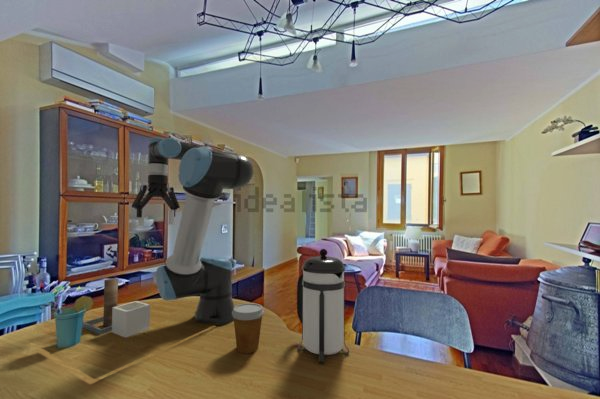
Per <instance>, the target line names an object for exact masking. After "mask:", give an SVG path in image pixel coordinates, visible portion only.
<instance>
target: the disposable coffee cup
mask: <svg viewBox="0 0 600 399" xmlns="http://www.w3.org/2000/svg"><path fill="white" fill-rule="evenodd" d="M264 313H265V311H264V309H263V306H262V304H259V303H254V302H248V303H240V304H237V305H234V309H233V312H232V315H233V317H234V320H233V323H234V324H233V326H234V336H235V345H236V351H237V352H239V353H241V354H243V353H244V354H250V353H254V352H256V351H257V350H259V345H260V344H259V343H260V335H261V329H262V323H263V322H262V321H263V316H264Z"/></svg>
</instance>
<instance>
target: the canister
mask: <svg viewBox="0 0 600 399" xmlns="http://www.w3.org/2000/svg"><path fill="white" fill-rule="evenodd" d="M150 327H151V304H149V303H145V302H141V301H138V300H135V301H132V302H127V303H124V304H121V305H117V306H116V307H113V309H112V331H111V333H112V334H115V335H118V336H119V337H122V338H129V337H132V336H134V335H138V334H139V333H140V334H141V333H142V332H145V331H148V330H150Z"/></svg>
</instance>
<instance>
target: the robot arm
mask: <svg viewBox="0 0 600 399" xmlns="http://www.w3.org/2000/svg"><path fill="white" fill-rule="evenodd" d="M169 159H170V160H178V161H180V163H179V166H178V172H179V173H178V175H177V176H178V181H179V183H180V185H181V186H182V189H183V191H184V193H185V194H186V195H185V198H184V203H183V208H182V212H181V216H180V221H179V226H178V230H177V233H176V238H175V241H174V242H175V243H174V246H173V250H172V254H171V255H168V256H167V258H166V260H165V264H164V265H159V267H157V269H156V273H155V274H156V275H155V276H156V277H155V278H156V286H157V291H158V294H159V295H160V298H161V299H162V300H163V301H176V300H178V299H179V300H180V299H184V298H188V297H192V296H198V295H199V301H198V303H197V307H196V311H195V312H194V320H195V321H196V322H197V323H200V324H208V325H212V324H213V325H212V326H213V327H217V326H223V325H225V324H228V323H231V322H234V317H233V315H232V312H233V309H234V307H235V304H234V301H233V296H232V291H233V290H232V288H233V287H232V285H233V282H232V281H233V264H232V260H231V259H230V258H227V257H222V256H210V255H209V256H208V255H206V256H201V252H202V248H203V245H204V241H205V237H206V233H207V230H208V226H209V223H210V219H211V216H212V211H213V207H214V204H215V201H216V200H218V199H220V198H221V196H222V193H223V190H227V189H228V190H235V189H236V190H237V189H240V188H243V187H245V186H247V185H248V184H249V183H250V181H251V180H252V179H253V176H254V166H253V164H252V162H251V161H250V159H249V158H247V157H246V156H245V155H243V154H239V153H235V152H228V151H223V150H222V151H221V150H217V149H216V150H215V149H213V148H212V147H211V146H207V145H204V144H198V143H190V142H187V141H186V142H185V141H179V140H178V139H176V138H174V137H166V138H164V137H157V136H156V137H150V138H149V140H148V166H147V167H148V171H147V173H148V175H147V183H148V185H147V184H141V185H140V186H139V191H138V193H137V195H136V197H135V199H134V201H133V203H132V205H131V208H133V209H135V210H136V218H138V220H137V221H138V222H137V223H138V224H137V225H138V226H139V227H145V209H144V207H146V205H147V204H148V203H149V201H150V200H151V199H153V198H156V197H157V198H162V200H164V202H165V203H166V205H167V206H168V208H169V209H168V221H167V222H168V223H167V224H168V225H172V226H173V225H175V217H176V211H177V210H178V209H180V204H179V201H178V199H177V196H176V193H175V188H174V187H173V186H170V187H168V182H169V177H168V175H169ZM147 191H148V192H147ZM200 256H201V257H200Z"/></svg>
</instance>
